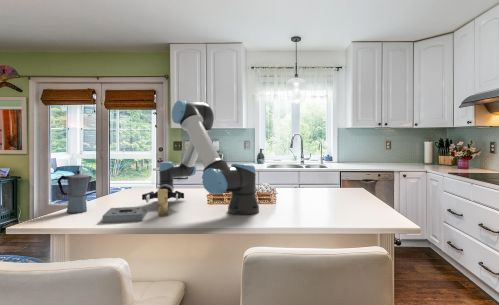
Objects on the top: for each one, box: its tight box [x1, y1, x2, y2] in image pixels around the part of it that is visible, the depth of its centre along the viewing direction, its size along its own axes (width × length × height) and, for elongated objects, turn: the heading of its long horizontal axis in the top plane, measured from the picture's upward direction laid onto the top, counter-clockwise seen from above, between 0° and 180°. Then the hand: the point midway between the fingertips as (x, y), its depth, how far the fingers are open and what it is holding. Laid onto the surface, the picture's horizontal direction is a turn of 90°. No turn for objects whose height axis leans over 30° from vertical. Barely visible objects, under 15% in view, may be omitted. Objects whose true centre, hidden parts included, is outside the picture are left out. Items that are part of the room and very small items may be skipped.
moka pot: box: [57, 170, 93, 214], centre depth 155 cm, size 10×15×20 cm, turn 137°
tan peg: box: [157, 188, 169, 217], centre depth 148 cm, size 4×4×12 cm
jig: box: [102, 206, 148, 224], centre depth 144 cm, size 16×16×3 cm
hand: (162, 199), depth 151 cm, fingers open, 13 cm apart
